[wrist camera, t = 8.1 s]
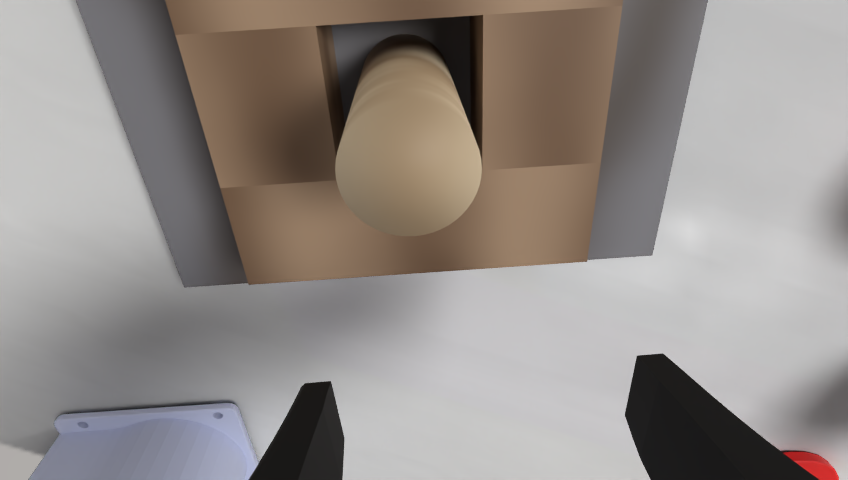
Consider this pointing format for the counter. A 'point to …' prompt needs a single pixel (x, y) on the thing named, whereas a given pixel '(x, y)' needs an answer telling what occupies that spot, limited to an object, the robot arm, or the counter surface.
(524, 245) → the holder
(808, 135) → the counter surface
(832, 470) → the tow hook
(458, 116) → the peg
